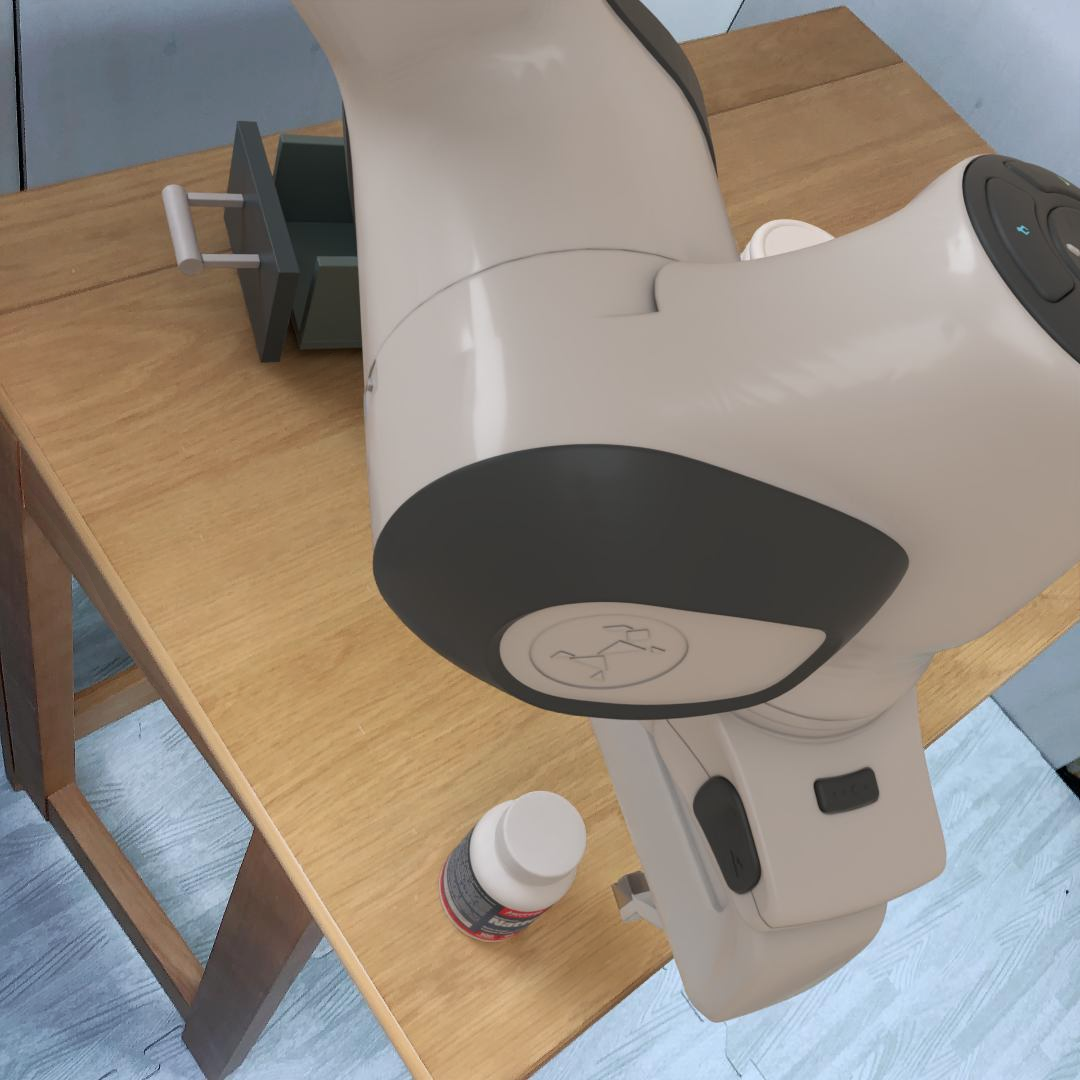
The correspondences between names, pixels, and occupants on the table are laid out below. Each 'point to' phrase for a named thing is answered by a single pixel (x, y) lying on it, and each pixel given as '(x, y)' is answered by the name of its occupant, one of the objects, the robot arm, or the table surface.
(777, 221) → the coaster
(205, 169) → the table surface
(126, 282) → the table surface
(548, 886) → the pill bottle
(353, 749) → the table surface
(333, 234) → the drawer
